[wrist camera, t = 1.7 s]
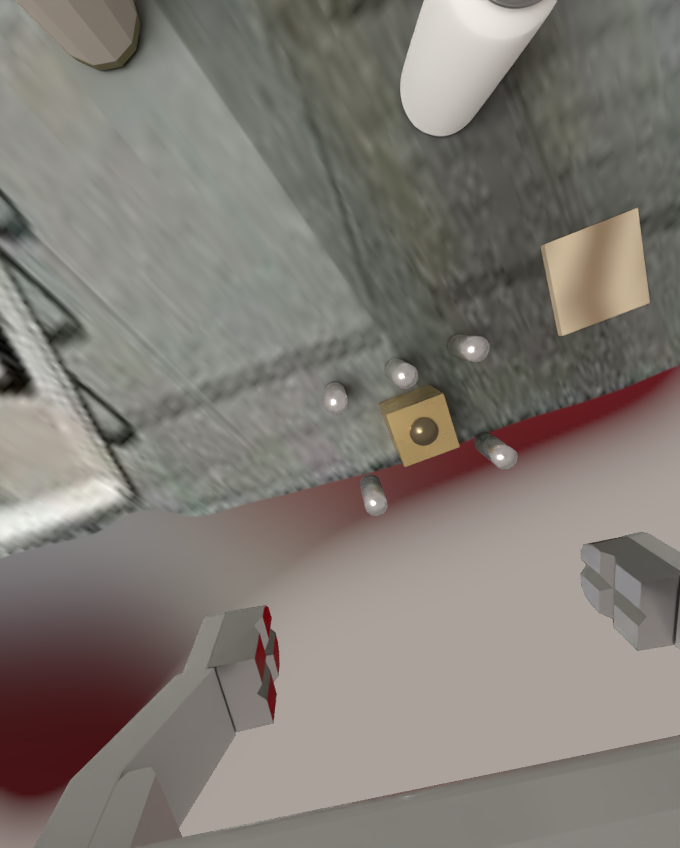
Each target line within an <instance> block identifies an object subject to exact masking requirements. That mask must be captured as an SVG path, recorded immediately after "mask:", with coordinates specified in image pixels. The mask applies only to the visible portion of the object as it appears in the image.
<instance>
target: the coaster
mask: <svg viewBox="0 0 680 848" xmlns="http://www.w3.org/2000/svg"><path fill="white" fill-rule="evenodd" d="M540 247H541V252H542V257H543V262H544V267H545V272H546V277H547V282H548V287H549V292H550V297H551V302H552V307H553V312H554V317H555V322H556V327H557V332H558V336H564V335H566V334H569V333H572V332H574V331H577V330H580V329H582V328H585V327H587V326H590V325H593V324H595V323H598V322H601V321H603V320H606V319H609V318H611V317H614V316H617V315H619V314H622V313H625V312H627V311H630V310H633V309H635V308H638V307H640V306H643V305H646V304H648V303H650V300H649V292H648V284H647V276H646V269H645V261H644V253H643V245H642V237H641V229H640V221H639V213H638V208H636V209H633V210H630V211H628V212H625V213H623V214H620V215H618V216H615V217H613V218H610V219H608V220H605V221H602V222H600V223H597V224H595V225H592V226H590V227H587V228H585V229H582V230H580V231H577V232H575V233H572V234H569V235H567V236H564V237H562V238H559V239H557V240H554V241H552V242H549V243H547V244H544V245H542V246H540Z"/></svg>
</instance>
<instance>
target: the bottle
mask: <svg viewBox="0 0 680 848" xmlns="http://www.w3.org/2000/svg"><path fill="white" fill-rule="evenodd" d="M15 1H16V2H17V3H18V4H19V5H20V6H21V7H22V8H23V9H24V10H25V11H26V12H27V13H28V14H29V15H30V16H31V17H32V18H33V19H34V20H35V21H36V22H37V23H38V24H39V25H40V26H41V27H42V28H43V29H44V30H45V31H46V32H47V33H48V34H49V35H50V36H51V37H52V38H53V39H54V40H55V41H56V42H57V43H58V44H59V45H60V46H61V47H62V48H63V49H64V50H65V51H66V52H67V53H68V54H69V55H70V56H72V57H73V58H75V59H76V60H78V61H80V62H82V63H84V64H86V65H89V66H91V67H93V68H95V69H98V70H100V71H102V70H107V69H113V68H118V67H122V66H123V65H124V64H125V62H126V61H127V60H128V59H129V58H130V57H131V55H132V54H133V53H134V52H135V51H136V48H137V42H138V36H139V30H140V21H139V17H138V13H137V9H136V6H135V2H134V0H15Z"/></svg>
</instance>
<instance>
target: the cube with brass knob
mask: <svg viewBox="0 0 680 848" xmlns="http://www.w3.org/2000/svg"><path fill="white" fill-rule="evenodd" d="M379 406H380V409H381V412H382V415H383V417H384V420H385V423H386V426H387V429H388V431H389V434H390V437H391V440H392V443H393V445H394V448H395V451H396V452H397V454H398V456H399V458H400V460H401V461H402V463H403V465H404V467H406V466H408V465H411V464H414V463H417V462H420V461H422V460H425V459H428V458H431V457H433V456H436V455H439V454H442V453H444V452H447V451H450V450H452V449H455V448H458V447H459V443H458V440H457V437H456V433H455V430H454V427H453V423H452V420H451V417H450V414H449V410H448V407H447V404H446V400H445V397H444V394H443V393H442V392H440V391H439V390H437V389H435V388H434V387H432V386H430V385H426V386H423V387H421V388H418V389H416V390H413V391H410V392H408V393H405V394H402V395H400V396H397V397H394V398H392V399H389V400H386V401H384V402H381V403H379Z"/></svg>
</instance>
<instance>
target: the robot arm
mask: <svg viewBox="0 0 680 848" xmlns="http://www.w3.org/2000/svg"><path fill="white" fill-rule="evenodd" d="M581 559H582V560H583V561H584V563H585V564H586V566H585V568H584V569H583V571H582V572H581V586H582V588H583V591H584V594H585V596H586V598H587V599H588V601H589V602H590V604H591V605H592V606H593V607H594V608H595V609H596V610H597V611H598V612H599V613H601V614H603V615H605V616H607V617H610V618H612V619H613V626H614V628H615V629H616V630H617V631H618V632H619V633H620V634H621V635H622V636H623V637H624V638H625V639H626V640H627V641H628V642H629V643H630V644H631V645H632V646H633V647H634V648H635V649H636V650H637V651H639V650H646V649H651V648H657V647H664V646H670V645H675V647H677V648H679V649H680V552H678V551H677V550H675V549H673V548H672V547H670V546H669V545H667V544H665V543H664V542H662V541H660V540H659V539H657V538H655V537H654V536H652V535H650V534H647V533H644V532H639V533H635V534H630V535H625V536H622V537H618V538H613V539H609V540H603V541H599V542H593V543H588V544H584V545H583V547H582V549H581ZM271 620H272V617H271V614H270V611H269V607H267V606H266V605H264V606H258V607H252V608H246V609H240V610H235V611H228V612H225V613H218V614H213V615H208V616H207V617H206V618H205V619H204V620H203V622H202V625H201V628H200V630H199V633H198V635H197V638H196V640H195V643H194V646H193V649H192V651H191V653H190V656H189V659H188V661H187V664H186V666H185V669H184V672H183V674H179V675H176V676H175V677H174V678H173V679H172V680H171V681H170V682H169V683H168V684H167V685H166V686H165V687H164V688H163V689H162V690H161V691H160V692H159V693H158V694H157V695H156V696H155V697H154V698H153V699H152V700H151V701H150V702H149V703H148V704H147V705H146V706H145V707H144V708H143V709H142V710H141V711H140V712H139V713H138V714H137V715H136V716H135V717H134V718H133V719H132V720H131V721H130V722H129V723H128V724H127V725H126V726H125V727H124V728H123V729H122V730H121V731H120V732H119V733H118V734H117V735H116V736H115V737H114V738H113V739H112V740H111V741H110V742H109V743H108V744H107V745H106V746H105V747H104V748H103V749H101V750H100V751H99V753H97V755H96V756H94V757H93V758H92V760H91V761H90V762H88V763H87V764H86V765H85V766H84V767H83V768H82V769H81V770H80V771H79V772H78V773H77V774H76V775H75V776H74V777H73V778H72V779H71V780H70V782H69V784H68V786H67V787H66V789H65V791H64V793H63V795H62V797H61V798H60V800H59V802H58V804H57V806H56V808H55V809H54V811H53V813H52V815H51V817H50V819H49V821H48V822H47V824H46V826H45V828H44V830H43V831H42V833H41V835H40V837H39V839H38V841H37V843H36V844H35V846H34V848H680V735H678V736H673V737H668V738H663V739H658V740H654V741H649V742H644V743H639V744H634V745H629V746H625V747H620V748H615V749H610V750H605V751H601V752H596V753H591V754H586V755H581V756H576V757H572V758H567V759H562V760H557V761H552V762H547V763H542V764H537V765H532V766H528V767H522V768H518V769H513V770H508V771H503V772H499V773H493V774H489V775H484V776H478V777H474V778H469V779H464V780H460V781H454V782H449V783H444V784H439V785H435V786H430V787H425V788H420V789H415V790H411V791H405V792H400V793H396V794H391V795H386V796H382V797H376V798H371V799H366V800H362V801H357V802H352V803H348V804H342V805H337V806H332V807H328V808H323V809H318V810H313V811H308V812H303V813H298V814H294V815H289V816H284V817H279V818H274V819H269V820H265V821H259V822H255V823H250V824H245V825H240V826H235V827H230V828H225V829H221V830H216V831H211V832H206V833H201V834H196V835H191V836H187V837H182V835H181V833H180V831H179V827H180V825H181V824H182V822H183V821H184V819H185V817H186V816H187V814H188V812H189V811H190V809H191V807H192V806H193V804H194V803H195V800H196V799H197V798H198V796H199V794H200V793H201V791H202V789H203V787H204V786H205V784H206V783H207V781H208V779H209V778H210V776H211V775H212V773H213V771H214V770H215V768H216V766H217V765H218V763H219V761H220V760H221V758H222V757H223V755H224V753H225V752H226V750H227V748H228V747H229V745H230V743H231V742H232V740H233V739H234V737H235V735H236V734H235V732H239V731H243V730H248V729H252V728H256V727H260V726H265V725H269V724H273V723H274V714H275V705H276V695H277V693H276V690H275V686H274V681H275V680H276V679H277V677H278V676H279V664H280V663H279V646H278V640H277V636H276V633H275V632H274V631H273V630H272V629H270V627H271Z"/></svg>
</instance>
